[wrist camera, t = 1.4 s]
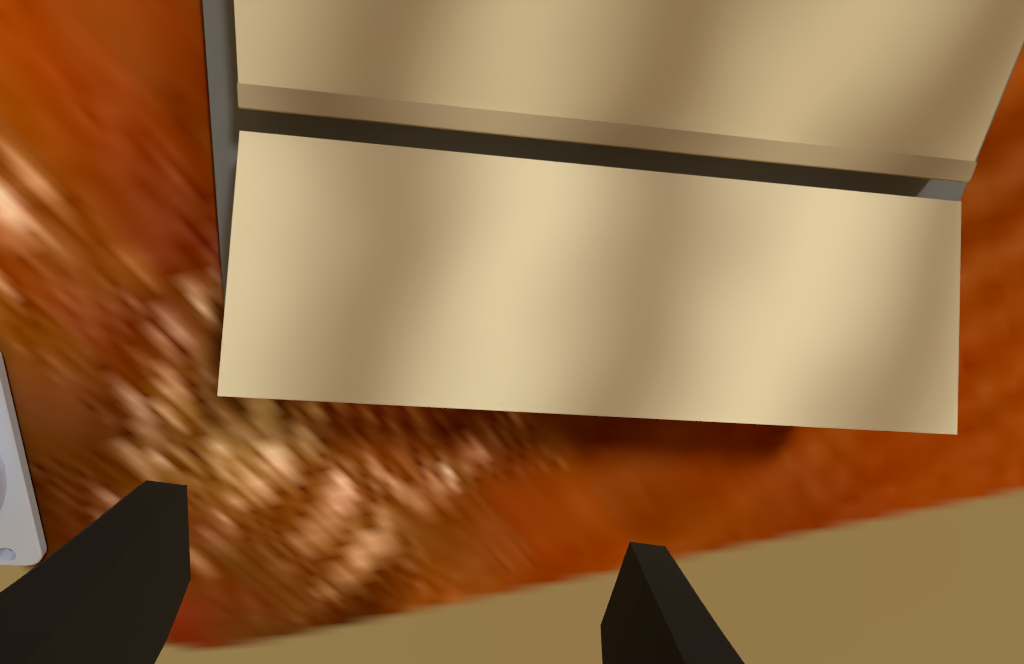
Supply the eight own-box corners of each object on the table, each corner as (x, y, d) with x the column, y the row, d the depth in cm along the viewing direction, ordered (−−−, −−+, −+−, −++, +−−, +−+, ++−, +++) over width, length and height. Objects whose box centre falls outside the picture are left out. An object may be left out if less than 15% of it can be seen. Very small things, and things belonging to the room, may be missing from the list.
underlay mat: (232, 378, 21) (229, 383, 20) (183, -341, 13) (178, -347, 13) (865, 413, 23) (871, 418, 23) (1102, -176, 16) (1114, -179, 16)
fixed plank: (252, 99, 17) (238, 109, 16) (238, -207, 14) (220, -223, 13) (937, 170, 19) (968, 183, 18) (1034, -82, 17) (1079, -87, 15)
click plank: (231, 394, 17) (217, 396, 16) (252, 147, 17) (239, 130, 16) (923, 430, 19) (956, 434, 18) (927, 212, 19) (961, 201, 18)
